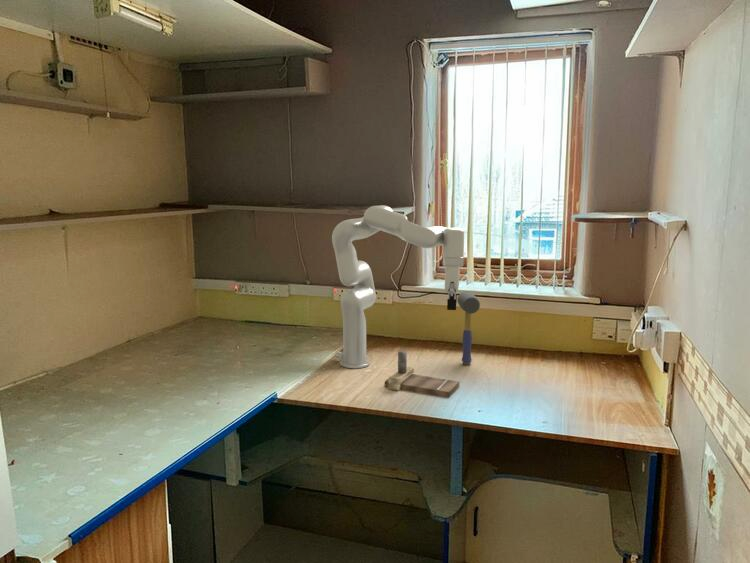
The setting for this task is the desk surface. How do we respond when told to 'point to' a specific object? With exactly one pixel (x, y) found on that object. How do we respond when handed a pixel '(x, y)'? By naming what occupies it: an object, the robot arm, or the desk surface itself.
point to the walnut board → (428, 385)
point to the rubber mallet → (468, 322)
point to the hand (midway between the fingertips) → (451, 306)
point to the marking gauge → (400, 371)
